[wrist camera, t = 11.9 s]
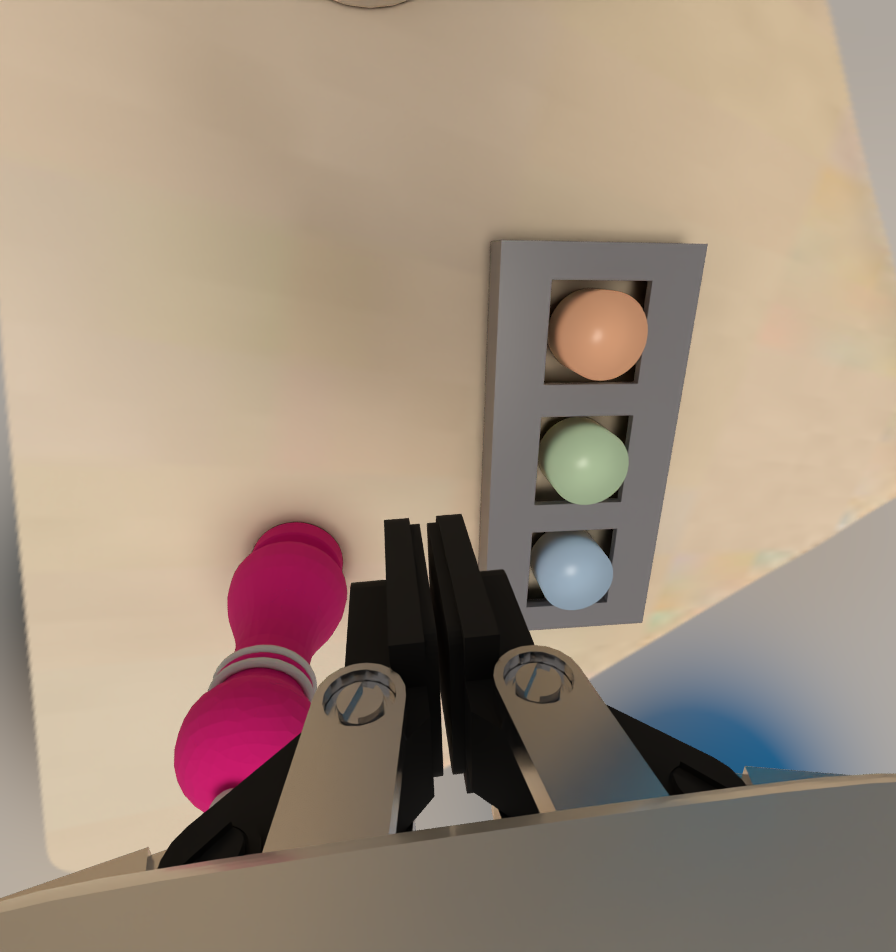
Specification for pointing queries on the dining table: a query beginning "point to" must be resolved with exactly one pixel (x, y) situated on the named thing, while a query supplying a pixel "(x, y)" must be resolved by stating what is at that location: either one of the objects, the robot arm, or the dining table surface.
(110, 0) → the dining table surface
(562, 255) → the button panel
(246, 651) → the pepper mill
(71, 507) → the dining table surface
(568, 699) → the robot arm
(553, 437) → the sage button
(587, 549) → the blue button
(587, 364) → the terracotta button
